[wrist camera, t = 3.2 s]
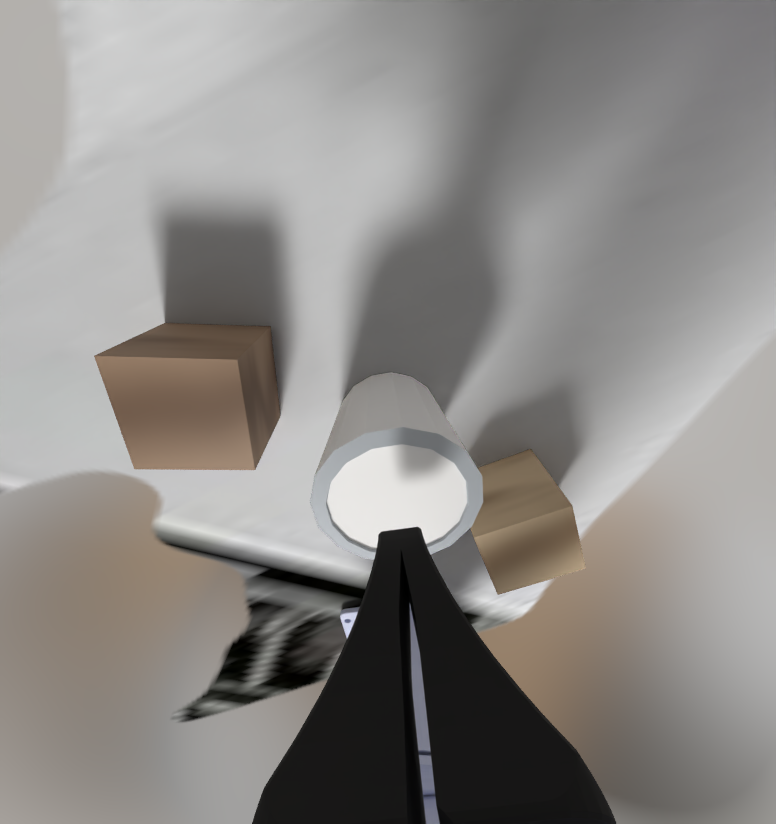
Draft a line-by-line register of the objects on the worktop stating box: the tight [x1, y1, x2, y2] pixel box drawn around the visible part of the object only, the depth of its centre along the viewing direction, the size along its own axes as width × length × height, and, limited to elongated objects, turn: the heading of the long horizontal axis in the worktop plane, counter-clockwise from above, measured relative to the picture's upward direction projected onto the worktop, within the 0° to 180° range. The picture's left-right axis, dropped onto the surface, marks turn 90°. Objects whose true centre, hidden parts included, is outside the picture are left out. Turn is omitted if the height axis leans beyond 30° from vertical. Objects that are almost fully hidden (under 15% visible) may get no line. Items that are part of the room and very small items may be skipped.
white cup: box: [310, 372, 483, 560], centre depth 17 cm, size 7×7×7 cm
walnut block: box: [94, 323, 280, 470], centre depth 16 cm, size 5×5×5 cm
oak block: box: [471, 449, 586, 595], centre depth 21 cm, size 5×5×5 cm
